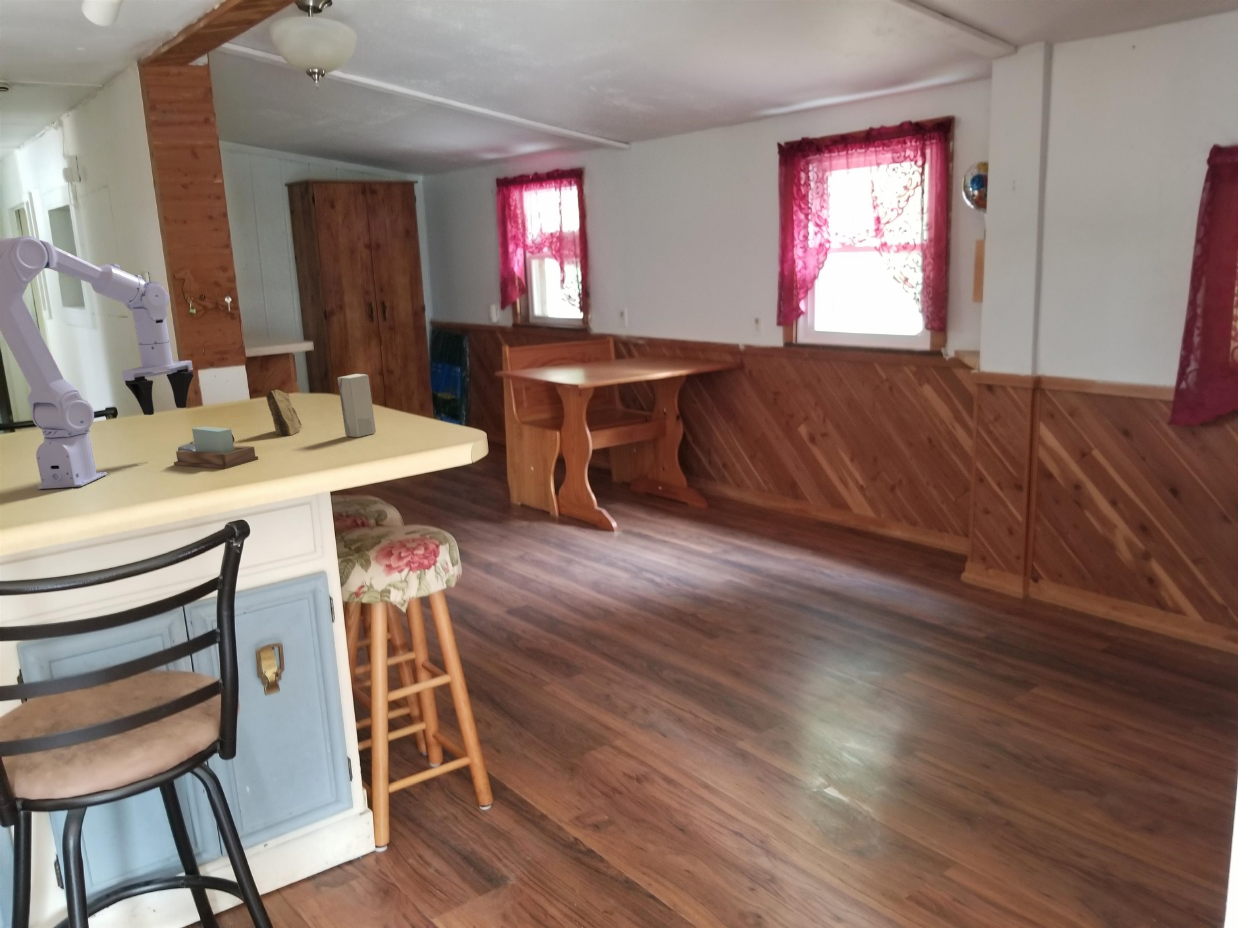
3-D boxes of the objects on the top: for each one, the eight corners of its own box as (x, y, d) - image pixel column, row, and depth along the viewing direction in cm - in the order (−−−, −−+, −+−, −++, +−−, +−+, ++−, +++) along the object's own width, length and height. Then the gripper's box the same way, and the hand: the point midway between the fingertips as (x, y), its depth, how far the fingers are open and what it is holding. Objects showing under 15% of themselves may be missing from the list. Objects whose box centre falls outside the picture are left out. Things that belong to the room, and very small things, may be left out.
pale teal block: (196, 458, 187) (191, 428, 186) (208, 455, 190) (204, 426, 188) (223, 462, 182) (218, 431, 181) (235, 459, 184) (231, 429, 183)
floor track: (258, 459, 186) (256, 446, 186) (225, 468, 180) (223, 455, 179) (207, 456, 193) (205, 443, 192) (174, 465, 186) (172, 452, 185)
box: (364, 431, 209) (357, 373, 206) (376, 433, 206) (369, 374, 203) (343, 436, 205) (336, 376, 202) (356, 438, 202) (348, 377, 199)
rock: (285, 416, 222) (252, 418, 213) (301, 386, 219) (267, 387, 210) (314, 445, 219) (281, 449, 210) (331, 416, 216) (298, 418, 207)
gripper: (171, 339, 197) (182, 404, 200) (107, 347, 184) (119, 417, 187) (195, 338, 194) (205, 405, 197) (131, 347, 181) (144, 418, 184)
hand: (165, 411), depth 192 cm, fingers open, 7 cm apart
